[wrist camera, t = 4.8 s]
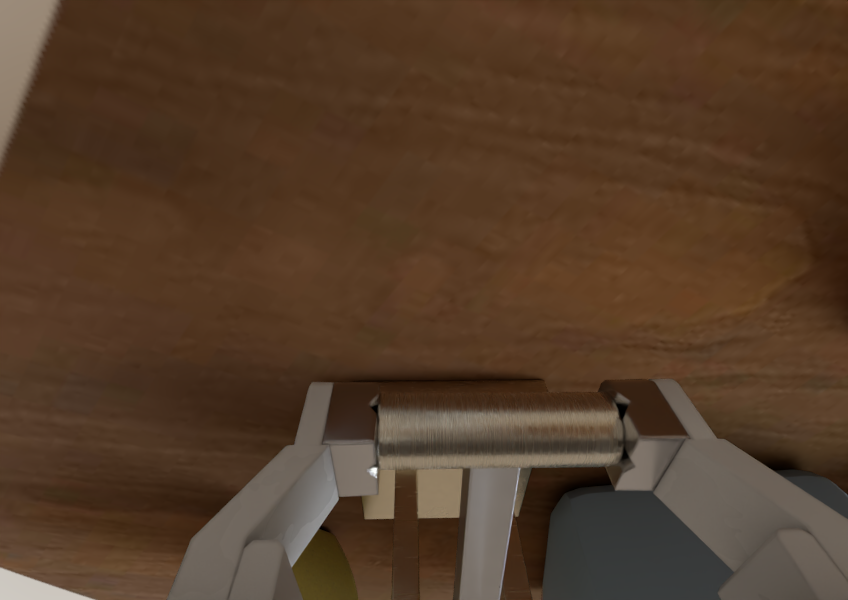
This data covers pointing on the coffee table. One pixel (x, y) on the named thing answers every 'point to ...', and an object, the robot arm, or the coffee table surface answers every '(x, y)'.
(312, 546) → the flower pot
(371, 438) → the robot arm
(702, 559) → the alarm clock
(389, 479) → the bracket
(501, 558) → the lever
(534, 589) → the coffee table surface
